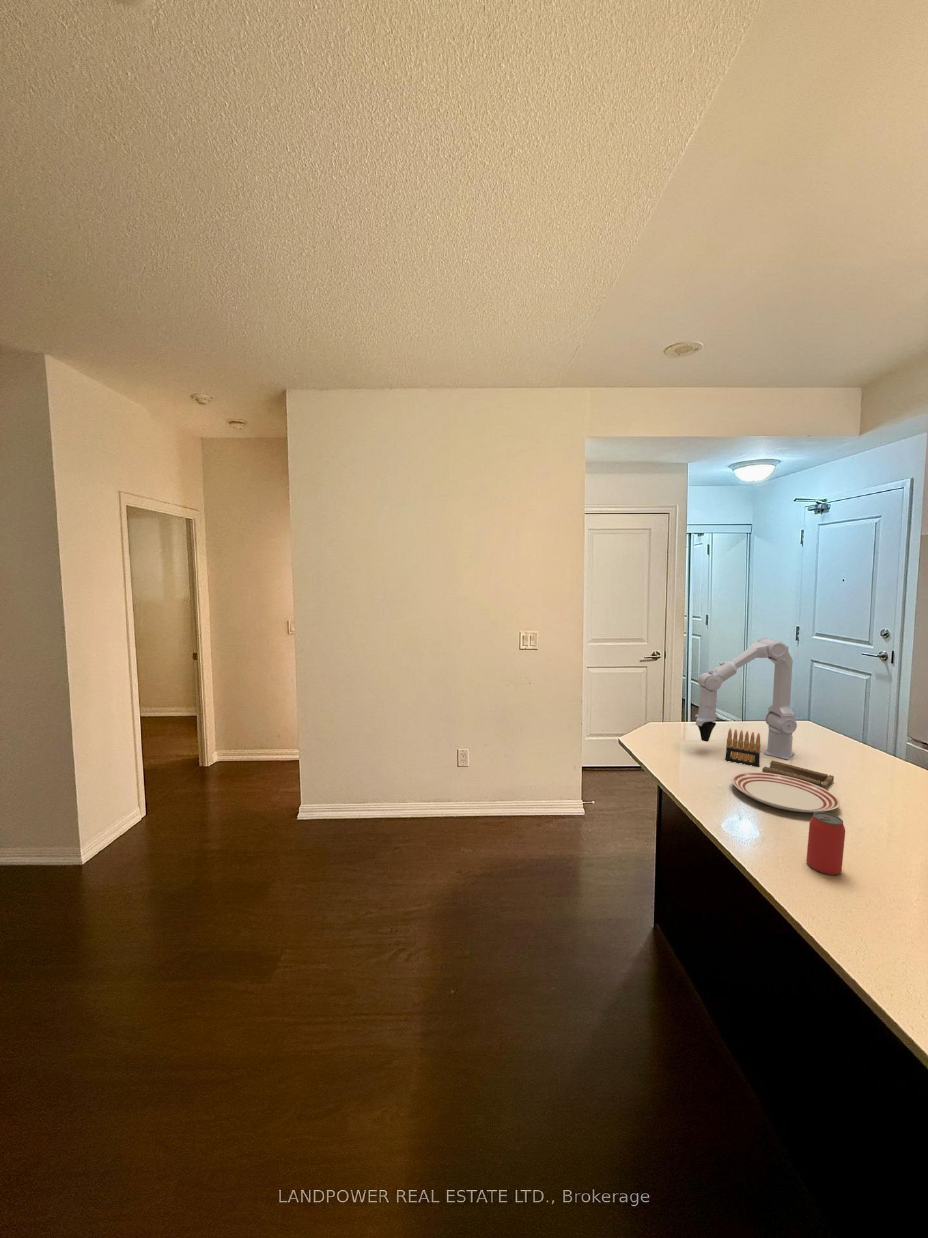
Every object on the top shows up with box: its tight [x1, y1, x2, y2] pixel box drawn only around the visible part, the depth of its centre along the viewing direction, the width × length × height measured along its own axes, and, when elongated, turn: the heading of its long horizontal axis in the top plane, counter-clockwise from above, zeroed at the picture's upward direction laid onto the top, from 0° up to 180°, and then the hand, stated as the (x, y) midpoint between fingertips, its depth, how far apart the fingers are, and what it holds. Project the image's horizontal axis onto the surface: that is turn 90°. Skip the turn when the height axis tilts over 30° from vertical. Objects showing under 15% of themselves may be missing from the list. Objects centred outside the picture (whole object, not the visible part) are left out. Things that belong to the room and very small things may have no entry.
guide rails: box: [761, 760, 835, 791], centre depth 163 cm, size 11×18×2 cm, turn 42°
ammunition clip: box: [724, 728, 761, 768], centre depth 175 cm, size 11×2×12 cm, turn 59°
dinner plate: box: [730, 771, 841, 813], centre depth 148 cm, size 27×27×3 cm
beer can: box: [805, 811, 846, 876], centre depth 112 cm, size 7×7×12 cm
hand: (705, 740), depth 184 cm, fingers closed
